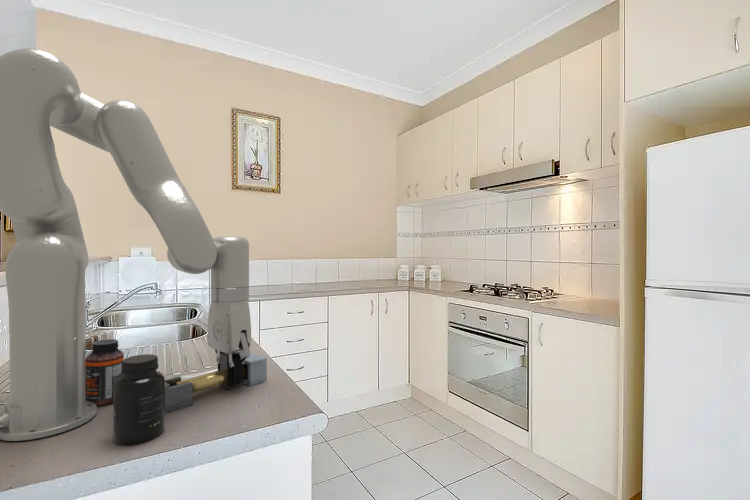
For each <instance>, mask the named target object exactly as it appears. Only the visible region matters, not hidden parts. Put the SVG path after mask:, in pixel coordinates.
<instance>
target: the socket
mask: <svg viewBox="0 0 750 500" xmlns="http://www.w3.org/2000/svg"><path fill="white" fill-rule="evenodd" d="M267 359H268V358H267V357H264V356H261V355H258V354H254V353H252V352H250V356H249V357H247V358H246V359H245V360H244V364H247V365H248V377H246V378H243V382H242V383H241V384H244V385H247V386H250V387H251V386H255V385H258V384H261V383H264V382H267V377H268V376H267V368H268V367H267V366H268V364H267Z"/></svg>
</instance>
